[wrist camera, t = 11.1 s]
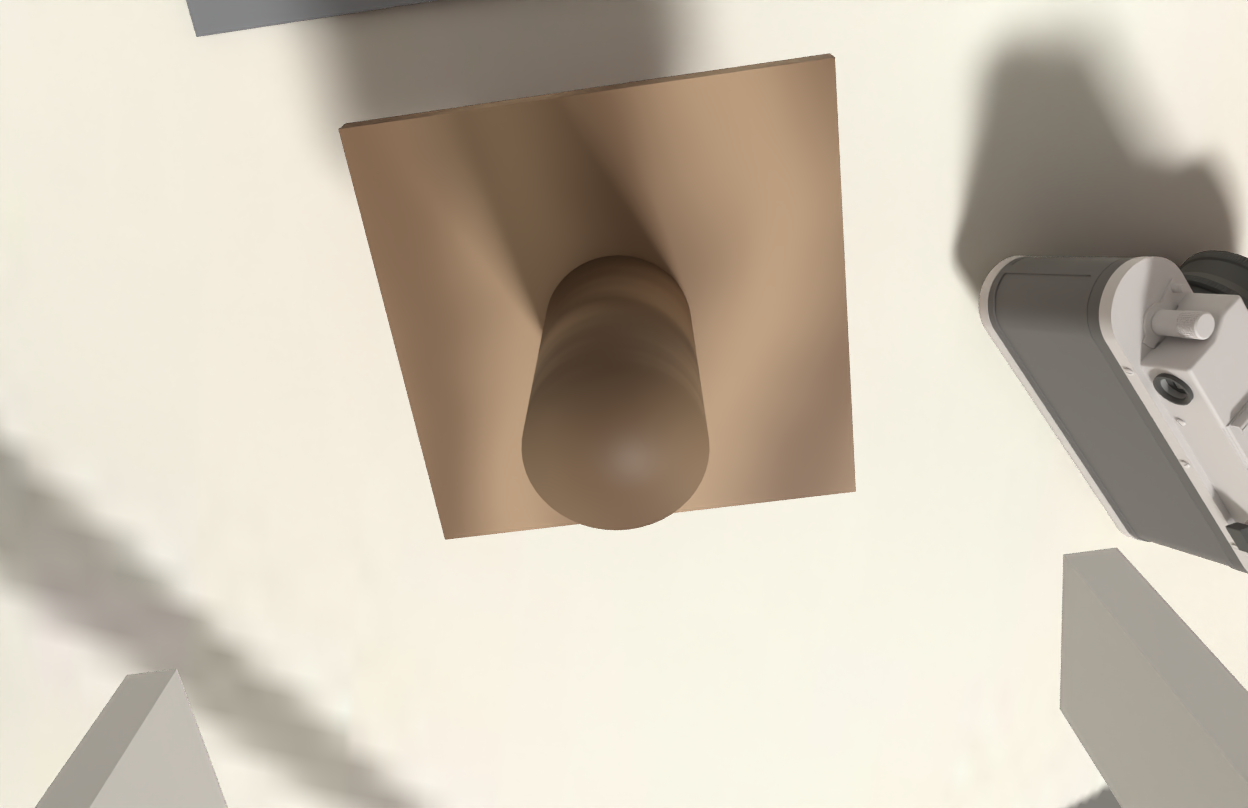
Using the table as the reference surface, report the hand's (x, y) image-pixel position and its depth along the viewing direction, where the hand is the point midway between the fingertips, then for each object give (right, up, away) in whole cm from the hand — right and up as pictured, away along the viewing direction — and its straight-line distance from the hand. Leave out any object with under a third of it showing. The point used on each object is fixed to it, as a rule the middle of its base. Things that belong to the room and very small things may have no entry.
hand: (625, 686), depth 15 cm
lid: (0, +7, +17) cm, 19 cm away
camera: (+23, +7, +31) cm, 39 cm away
